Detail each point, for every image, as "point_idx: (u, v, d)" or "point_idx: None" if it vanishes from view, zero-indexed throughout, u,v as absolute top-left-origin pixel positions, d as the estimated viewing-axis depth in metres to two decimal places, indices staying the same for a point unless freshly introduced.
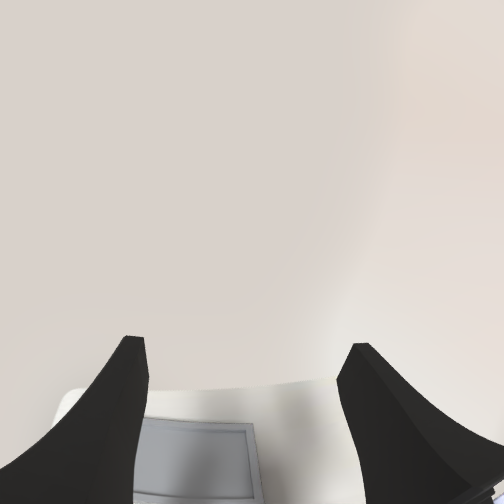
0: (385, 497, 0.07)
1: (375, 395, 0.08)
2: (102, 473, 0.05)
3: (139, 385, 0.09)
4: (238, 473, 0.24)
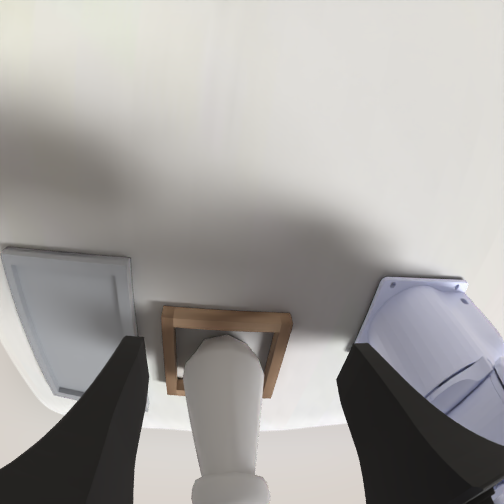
0: (385, 497, 0.07)
1: (375, 395, 0.08)
2: (102, 473, 0.05)
3: (139, 385, 0.09)
4: (76, 280, 0.19)
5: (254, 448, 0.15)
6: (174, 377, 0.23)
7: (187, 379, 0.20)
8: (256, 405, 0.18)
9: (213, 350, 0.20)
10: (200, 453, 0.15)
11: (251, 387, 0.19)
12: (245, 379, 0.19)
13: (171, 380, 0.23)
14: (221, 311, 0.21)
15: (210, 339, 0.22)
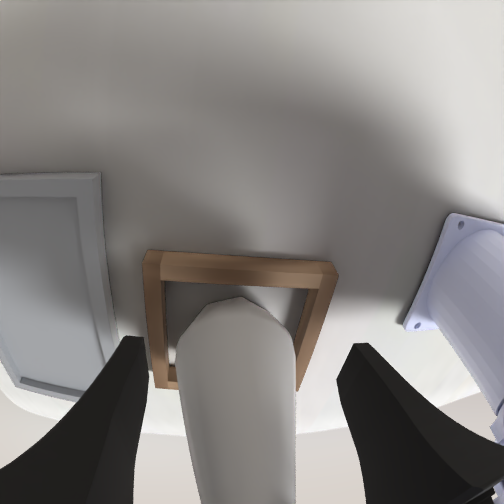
0: (385, 497, 0.07)
1: (375, 395, 0.08)
2: (102, 473, 0.05)
3: (139, 385, 0.09)
4: (28, 214, 0.12)
5: (293, 470, 0.09)
6: (164, 362, 0.16)
7: (181, 361, 0.13)
8: (291, 399, 0.11)
9: (222, 314, 0.13)
10: (202, 481, 0.09)
11: (282, 372, 0.12)
12: (272, 357, 0.12)
13: (160, 367, 0.16)
14: (233, 257, 0.14)
15: (216, 303, 0.16)
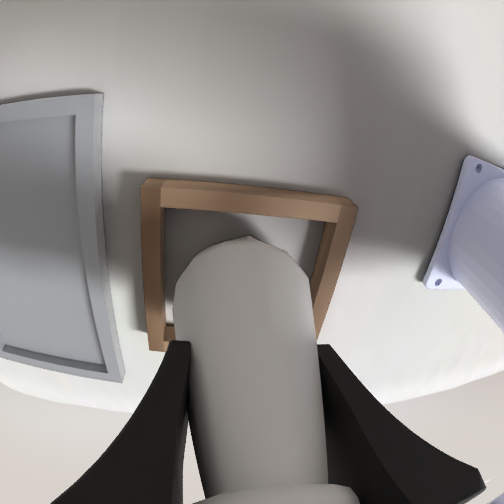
0: None
1: (331, 400, 0.08)
2: (174, 483, 0.05)
3: None
4: (22, 143, 0.10)
5: (322, 425, 0.07)
6: (160, 315, 0.14)
7: (179, 300, 0.11)
8: (313, 340, 0.10)
9: (229, 244, 0.12)
10: (201, 442, 0.07)
11: (301, 307, 0.10)
12: (288, 289, 0.10)
13: (155, 322, 0.15)
14: (242, 186, 0.13)
15: (221, 243, 0.14)
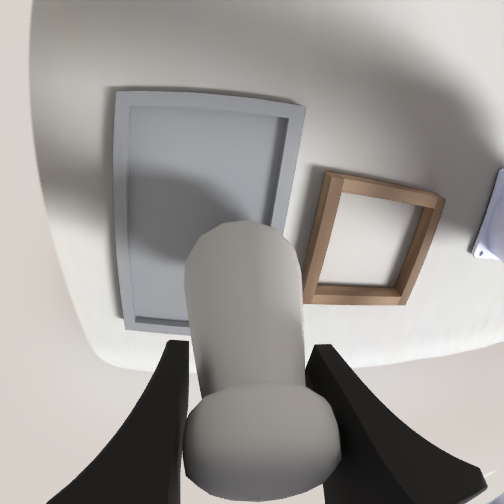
0: None
1: (332, 400, 0.08)
2: (170, 483, 0.05)
3: (186, 389, 0.09)
4: (225, 130, 0.16)
5: (301, 351, 0.10)
6: (319, 273, 0.20)
7: (188, 271, 0.14)
8: (296, 291, 0.12)
9: (227, 224, 0.14)
10: (203, 369, 0.09)
11: (286, 267, 0.13)
12: (274, 253, 0.13)
13: (313, 278, 0.20)
14: (383, 182, 0.18)
15: None
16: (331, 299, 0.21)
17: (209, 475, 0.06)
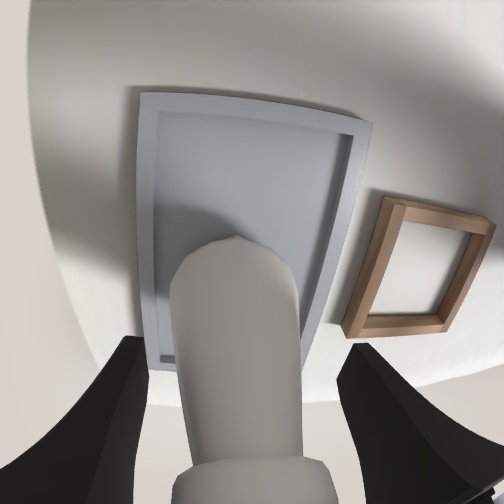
0: (385, 497, 0.07)
1: (375, 395, 0.08)
2: (102, 473, 0.05)
3: (139, 385, 0.09)
4: (277, 145, 0.13)
5: (298, 404, 0.08)
6: (369, 306, 0.17)
7: (173, 298, 0.12)
8: (293, 327, 0.11)
9: (214, 244, 0.13)
10: (190, 422, 0.08)
11: (281, 297, 0.11)
12: (269, 282, 0.11)
13: (363, 312, 0.18)
14: (439, 207, 0.16)
15: None
16: (378, 332, 0.19)
17: None
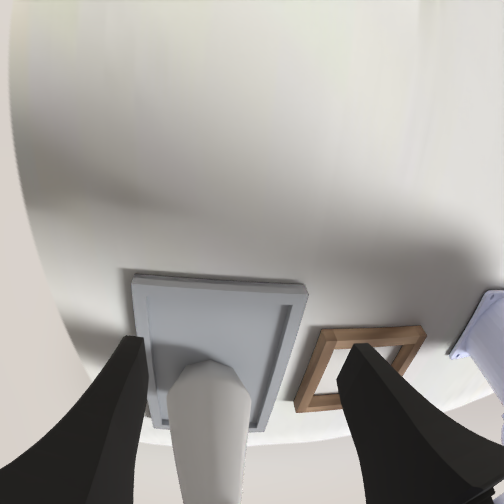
0: (385, 497, 0.07)
1: (375, 395, 0.08)
2: (102, 473, 0.05)
3: (139, 385, 0.09)
4: (235, 311, 0.19)
5: (237, 483, 0.14)
6: (311, 396, 0.23)
7: (169, 409, 0.18)
8: (240, 437, 0.16)
9: (193, 379, 0.18)
10: (182, 487, 0.14)
11: (234, 418, 0.17)
12: (226, 409, 0.17)
13: (307, 399, 0.23)
14: (372, 329, 0.21)
15: (192, 365, 0.20)
16: (321, 408, 0.24)
17: None
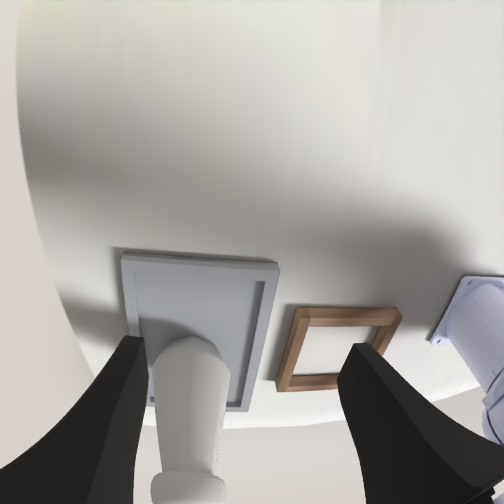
0: (385, 497, 0.07)
1: (375, 395, 0.08)
2: (102, 473, 0.05)
3: (139, 385, 0.09)
4: (213, 287, 0.21)
5: (211, 447, 0.15)
6: (291, 374, 0.25)
7: (153, 380, 0.20)
8: (216, 404, 0.18)
9: (175, 350, 0.20)
10: (161, 451, 0.15)
11: (211, 387, 0.19)
12: (204, 378, 0.19)
13: (286, 377, 0.25)
14: (346, 309, 0.23)
15: (176, 340, 0.22)
16: (301, 388, 0.26)
17: None
